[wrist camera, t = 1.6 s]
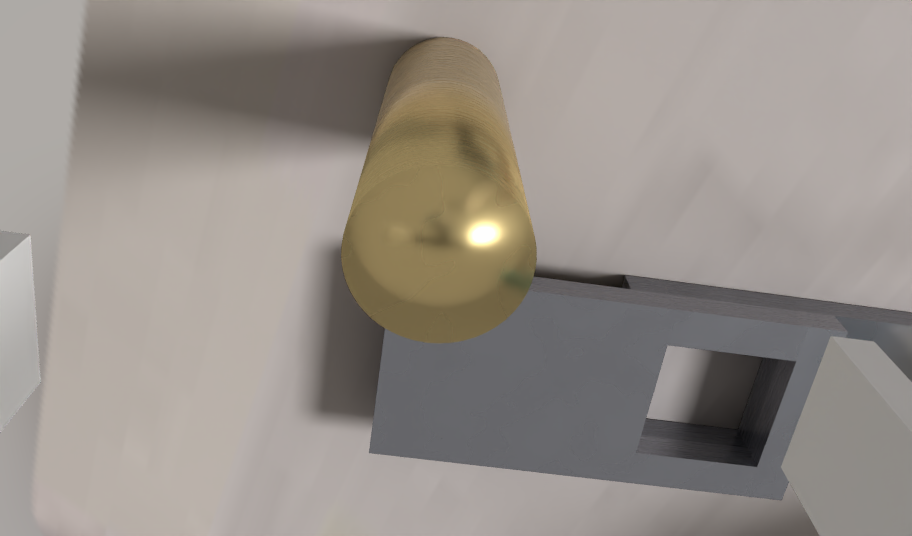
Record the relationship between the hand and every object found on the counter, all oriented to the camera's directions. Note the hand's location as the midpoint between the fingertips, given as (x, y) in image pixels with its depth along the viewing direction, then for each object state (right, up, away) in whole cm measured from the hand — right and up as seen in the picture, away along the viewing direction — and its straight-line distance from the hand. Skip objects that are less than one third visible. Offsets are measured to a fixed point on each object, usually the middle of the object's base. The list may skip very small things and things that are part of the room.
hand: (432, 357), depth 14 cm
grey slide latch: (+10, -3, +21) cm, 23 cm away
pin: (0, +8, +16) cm, 18 cm away
